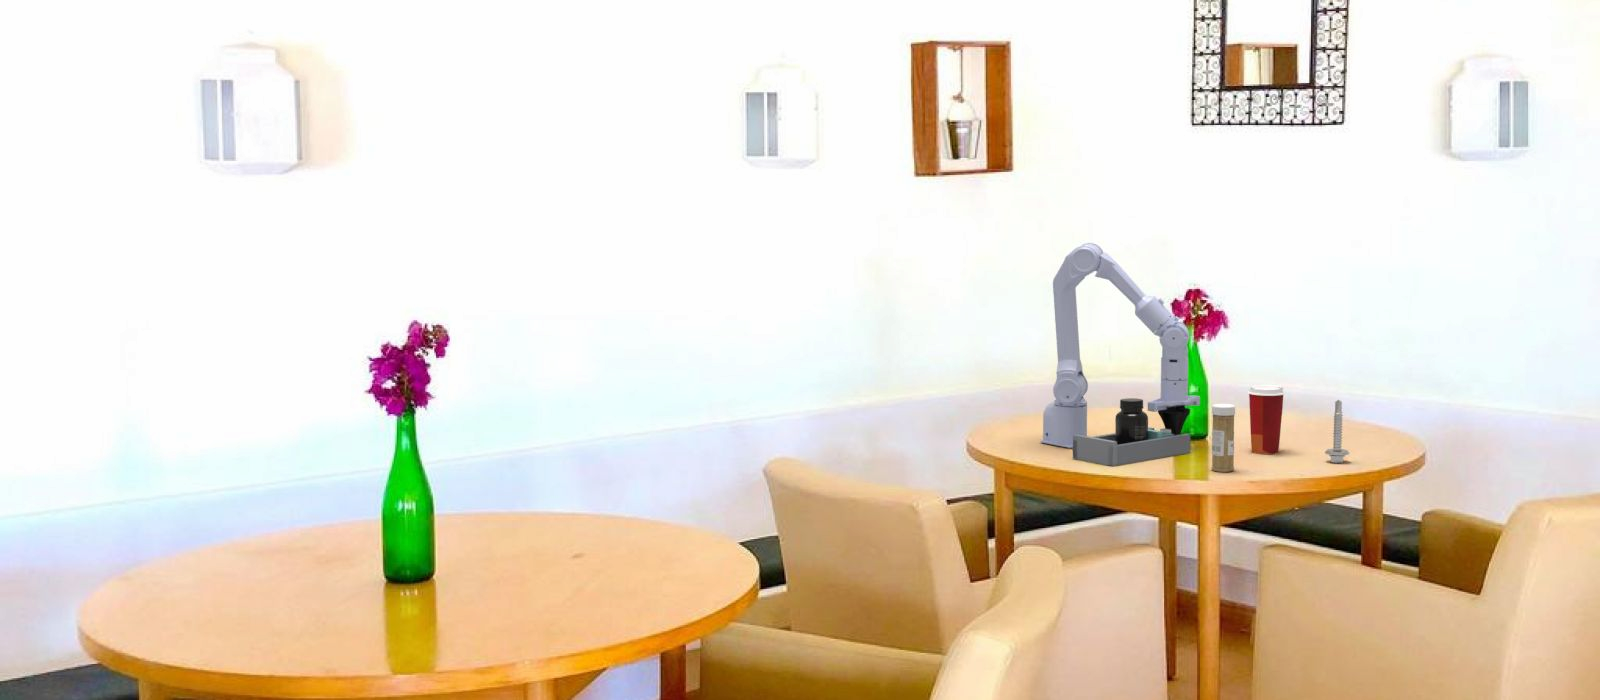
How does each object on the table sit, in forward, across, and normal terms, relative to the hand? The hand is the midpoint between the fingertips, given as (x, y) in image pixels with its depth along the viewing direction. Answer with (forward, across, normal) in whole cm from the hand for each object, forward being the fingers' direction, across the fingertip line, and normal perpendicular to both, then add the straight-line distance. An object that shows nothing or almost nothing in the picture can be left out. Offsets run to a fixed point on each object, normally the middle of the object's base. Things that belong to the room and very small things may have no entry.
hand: (1173, 441), depth 399 cm
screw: (+2, +14, -32) cm, 35 cm away
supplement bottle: (+2, -13, 0) cm, 13 cm away
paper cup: (+2, +12, -15) cm, 19 cm away
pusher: (+1, -6, 0) cm, 6 cm away
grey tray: (+2, -13, 0) cm, 13 cm away
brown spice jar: (+2, -11, -23) cm, 26 cm away
